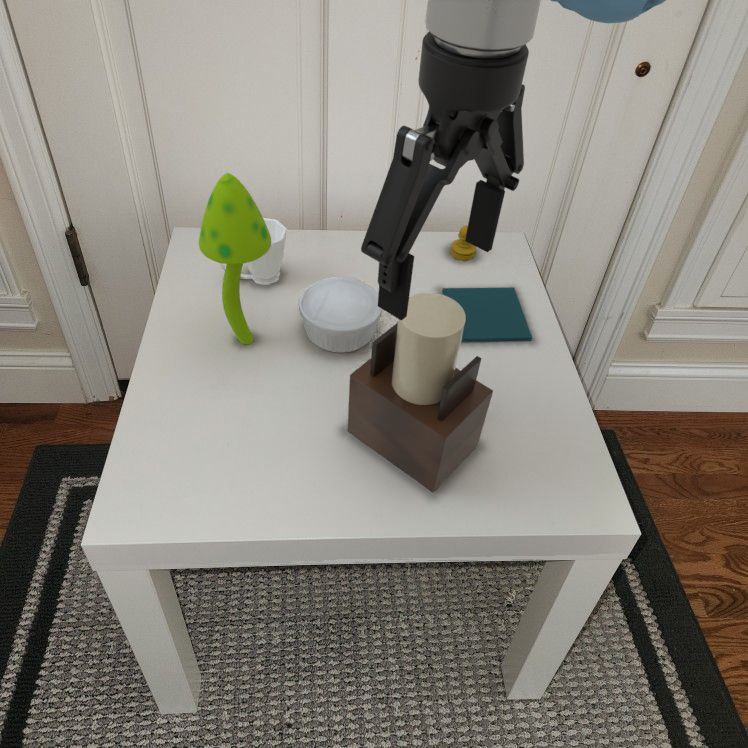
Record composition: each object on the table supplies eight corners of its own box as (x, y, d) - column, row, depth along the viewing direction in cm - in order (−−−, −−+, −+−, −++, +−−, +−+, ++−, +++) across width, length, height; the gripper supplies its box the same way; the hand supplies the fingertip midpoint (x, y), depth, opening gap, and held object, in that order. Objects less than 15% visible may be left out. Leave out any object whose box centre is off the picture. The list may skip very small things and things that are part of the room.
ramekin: (291, 311, 94) (290, 282, 90) (366, 299, 96) (368, 270, 93) (310, 366, 86) (310, 337, 83) (390, 351, 89) (393, 322, 85)
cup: (292, 287, 97) (291, 242, 91) (224, 296, 95) (217, 250, 89) (284, 259, 102) (282, 214, 96) (219, 266, 100) (212, 221, 94)
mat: (513, 290, 100) (514, 287, 99) (531, 340, 92) (532, 337, 92) (442, 291, 99) (442, 287, 98) (454, 342, 91) (454, 339, 91)
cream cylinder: (463, 381, 72) (479, 313, 65) (427, 415, 69) (439, 347, 62) (416, 352, 75) (425, 283, 68) (379, 383, 71) (385, 314, 64)
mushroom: (273, 363, 86) (260, 196, 68) (209, 359, 86) (178, 190, 68) (281, 321, 92) (272, 156, 74) (221, 316, 92) (197, 150, 74)
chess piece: (448, 245, 107) (453, 219, 103) (472, 245, 107) (477, 219, 103) (452, 260, 104) (456, 234, 100) (476, 260, 104) (482, 234, 101)
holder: (477, 445, 79) (502, 358, 68) (433, 493, 74) (452, 406, 63) (394, 390, 84) (404, 301, 73) (347, 431, 79) (351, 342, 68)
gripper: (523, -16, 54) (478, 207, 70) (314, 70, 41) (316, 323, 56) (606, 10, 51) (540, 236, 67) (409, 111, 38) (383, 366, 53)
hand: (437, 276), depth 62 cm, fingers open, 13 cm apart
